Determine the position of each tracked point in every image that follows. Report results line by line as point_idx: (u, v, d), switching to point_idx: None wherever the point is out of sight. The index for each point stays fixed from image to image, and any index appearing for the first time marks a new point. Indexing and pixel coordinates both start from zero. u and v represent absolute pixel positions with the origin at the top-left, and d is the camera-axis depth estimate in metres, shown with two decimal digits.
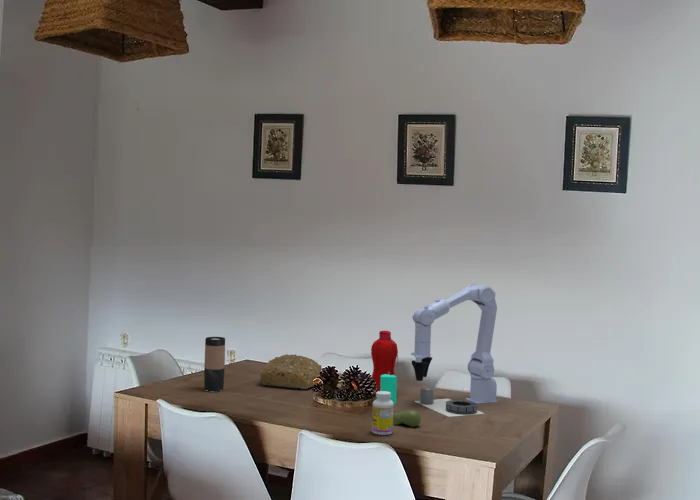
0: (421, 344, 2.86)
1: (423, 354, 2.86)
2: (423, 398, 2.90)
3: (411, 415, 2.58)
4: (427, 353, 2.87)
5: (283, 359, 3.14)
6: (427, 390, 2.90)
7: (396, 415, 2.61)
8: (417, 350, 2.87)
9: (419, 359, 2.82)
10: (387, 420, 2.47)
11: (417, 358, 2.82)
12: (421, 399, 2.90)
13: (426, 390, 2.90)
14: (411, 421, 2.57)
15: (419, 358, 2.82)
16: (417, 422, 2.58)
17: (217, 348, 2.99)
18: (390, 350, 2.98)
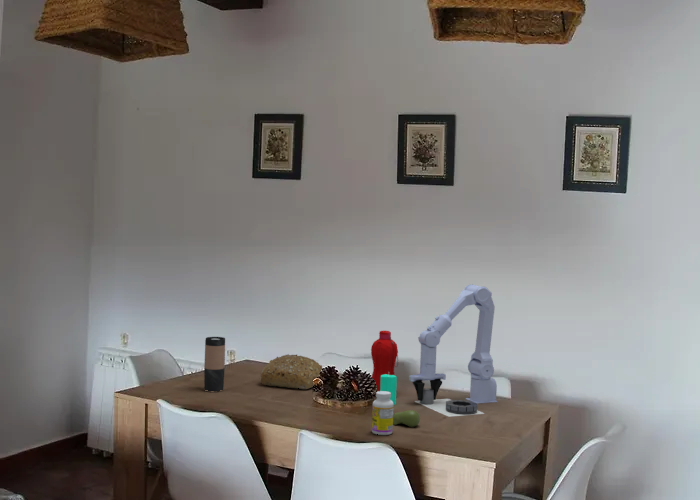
0: (421, 365, 2.90)
1: (422, 375, 2.90)
2: (423, 398, 2.90)
3: (410, 415, 2.58)
4: (426, 375, 2.89)
5: (284, 359, 3.14)
6: (427, 390, 2.90)
7: (395, 415, 2.61)
8: (420, 370, 2.92)
9: (410, 378, 2.88)
10: (387, 420, 2.47)
11: (409, 377, 2.89)
12: None
13: (426, 390, 2.90)
14: (410, 421, 2.57)
15: (410, 377, 2.88)
16: (416, 422, 2.58)
17: (217, 348, 2.99)
18: (390, 350, 2.98)
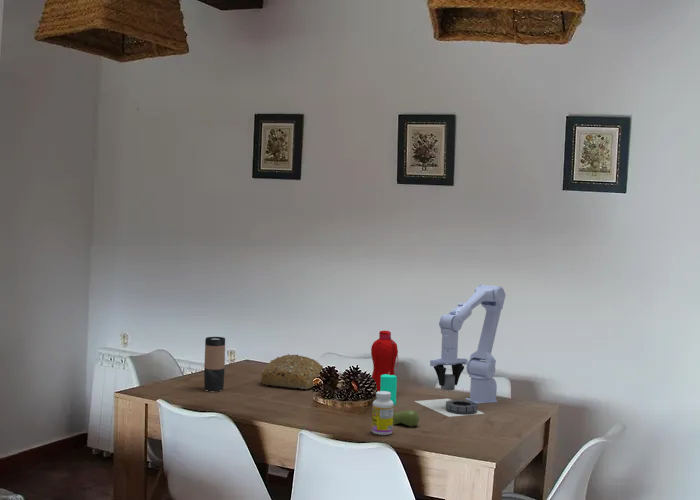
0: (443, 349, 2.84)
1: (444, 360, 2.83)
2: (445, 383, 2.84)
3: (409, 415, 2.58)
4: (448, 359, 2.82)
5: (284, 359, 3.14)
6: (448, 375, 2.84)
7: (394, 415, 2.61)
8: (441, 355, 2.85)
9: (432, 363, 2.82)
10: (387, 420, 2.47)
11: (431, 362, 2.83)
12: None
13: (447, 375, 2.84)
14: (409, 421, 2.57)
15: (432, 362, 2.82)
16: (415, 422, 2.58)
17: (217, 348, 2.99)
18: (390, 350, 2.98)
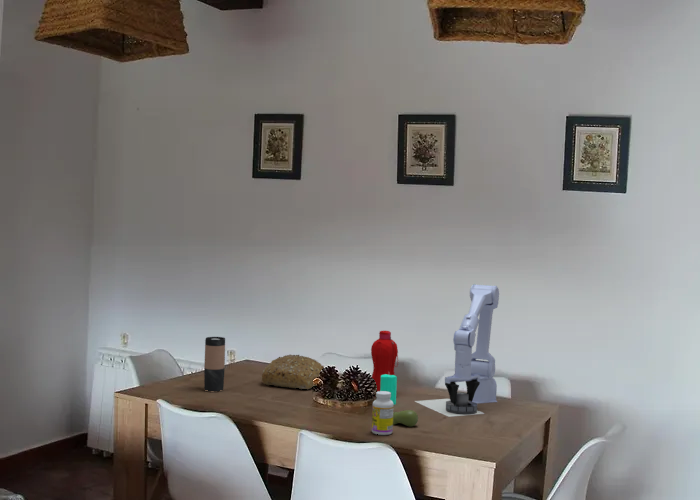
0: (457, 366, 2.80)
1: (458, 376, 2.79)
2: (459, 402, 2.80)
3: (408, 415, 2.58)
4: (463, 376, 2.79)
5: (285, 359, 3.14)
6: (463, 394, 2.80)
7: (393, 415, 2.61)
8: None
9: (447, 380, 2.77)
10: (387, 420, 2.47)
11: (446, 379, 2.78)
12: (457, 404, 2.80)
13: (462, 394, 2.80)
14: (408, 421, 2.58)
15: (447, 379, 2.77)
16: (414, 422, 2.58)
17: (217, 348, 2.99)
18: (390, 350, 2.98)
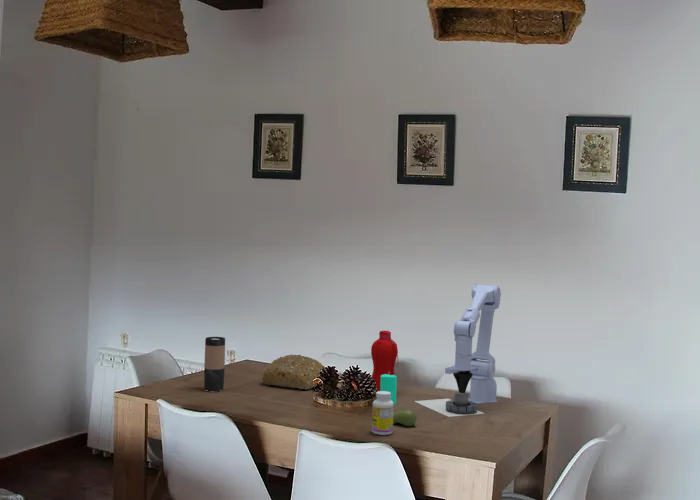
0: (457, 356, 2.80)
1: (458, 367, 2.79)
2: (459, 402, 2.80)
3: (406, 415, 2.58)
4: (463, 366, 2.78)
5: (285, 359, 3.14)
6: (463, 394, 2.80)
7: None
8: (455, 362, 2.81)
9: (447, 371, 2.77)
10: (387, 420, 2.47)
11: (446, 369, 2.78)
12: (457, 404, 2.80)
13: (462, 394, 2.80)
14: (406, 421, 2.58)
15: (447, 370, 2.77)
16: (412, 422, 2.58)
17: (217, 348, 2.99)
18: (390, 350, 2.98)
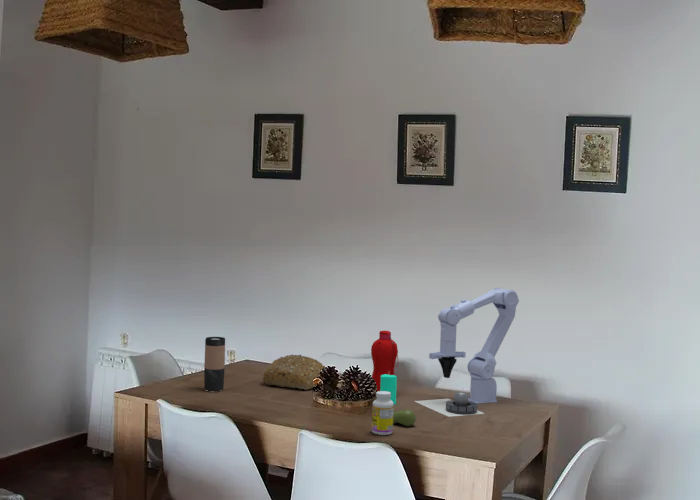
0: (441, 342, 2.91)
1: (442, 352, 2.90)
2: (459, 402, 2.80)
3: (406, 415, 2.58)
4: (447, 352, 2.90)
5: (286, 359, 3.14)
6: (463, 394, 2.80)
7: None
8: (440, 348, 2.92)
9: (431, 356, 2.89)
10: (387, 420, 2.47)
11: (430, 355, 2.90)
12: (457, 404, 2.80)
13: (462, 394, 2.80)
14: (406, 421, 2.58)
15: (431, 355, 2.89)
16: (412, 421, 2.58)
17: (217, 348, 2.99)
18: (390, 350, 2.98)
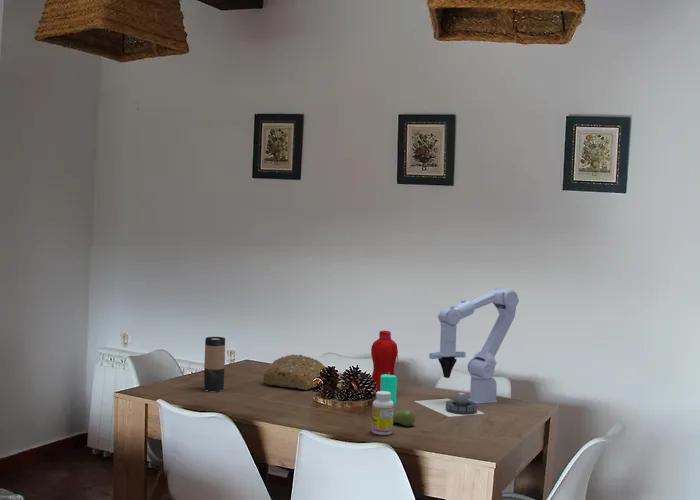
0: (441, 342, 2.91)
1: (442, 352, 2.90)
2: (459, 402, 2.80)
3: (405, 415, 2.58)
4: (447, 352, 2.90)
5: (286, 359, 3.14)
6: (463, 394, 2.80)
7: None
8: (440, 348, 2.92)
9: (431, 356, 2.89)
10: (387, 420, 2.47)
11: (430, 355, 2.90)
12: (457, 404, 2.80)
13: (462, 394, 2.80)
14: (405, 421, 2.58)
15: (431, 355, 2.89)
16: (411, 421, 2.58)
17: (217, 348, 2.99)
18: (390, 350, 2.98)
